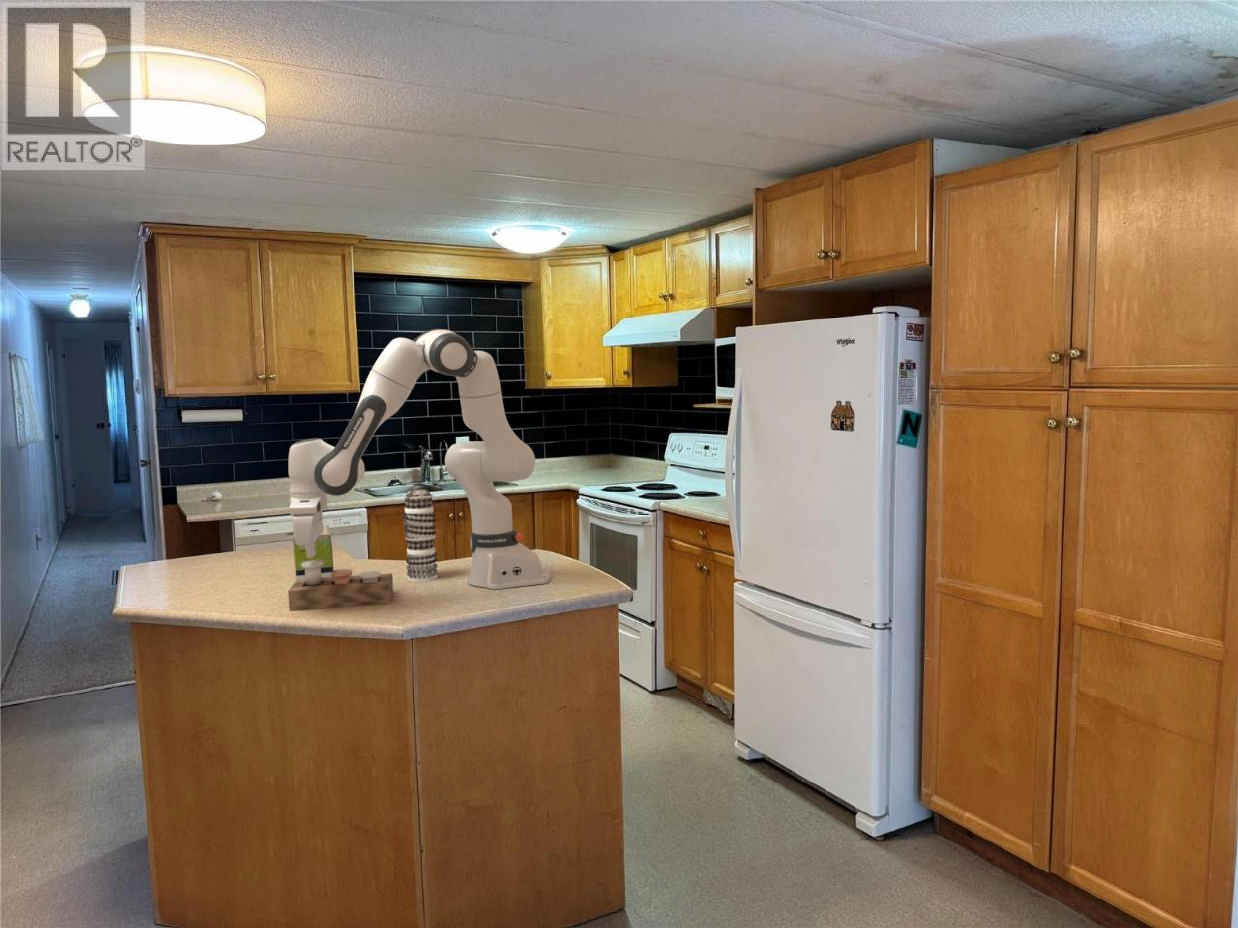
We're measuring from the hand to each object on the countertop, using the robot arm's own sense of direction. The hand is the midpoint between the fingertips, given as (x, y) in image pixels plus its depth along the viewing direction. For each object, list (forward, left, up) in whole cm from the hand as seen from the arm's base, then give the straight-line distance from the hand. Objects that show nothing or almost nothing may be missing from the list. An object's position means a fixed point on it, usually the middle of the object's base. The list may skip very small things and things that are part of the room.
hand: (311, 556), depth 212 cm
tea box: (+4, -25, -13) cm, 28 cm away
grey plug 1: (0, -1, -7) cm, 7 cm away
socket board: (-7, -1, -12) cm, 14 cm away
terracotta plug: (-7, -1, -10) cm, 12 cm away
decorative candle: (-26, -20, -12) cm, 35 cm away
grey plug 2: (-14, -1, -11) cm, 18 cm away
